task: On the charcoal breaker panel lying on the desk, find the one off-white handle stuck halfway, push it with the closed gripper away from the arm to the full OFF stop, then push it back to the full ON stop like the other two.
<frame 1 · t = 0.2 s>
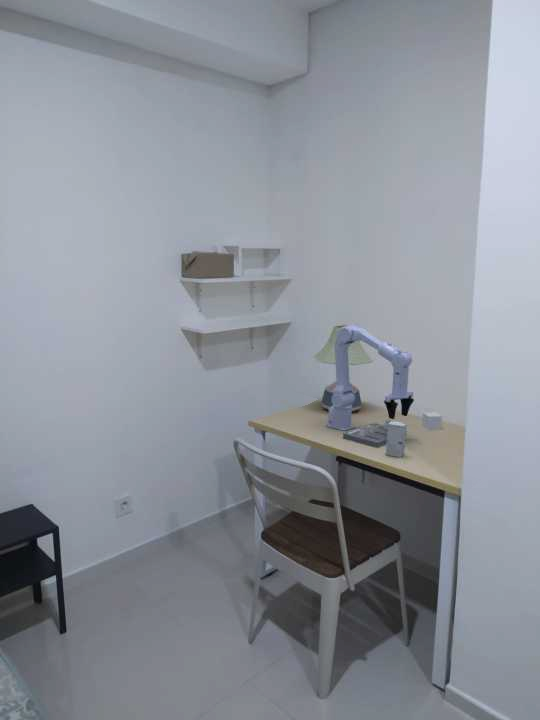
hand: (398, 417, 218), 10 cm above the table, tool pointing down, fingers open, 7 cm apart
desk lamp: (341, 409, 266), on the table
tripped breaker handle: (388, 424, 228), point 4 cm above the table, slide at 3.0 cm
grey cube: (431, 428, 239), on the table
skincare box: (395, 455, 204), on the table
breaker panel: (375, 436, 225), on the table
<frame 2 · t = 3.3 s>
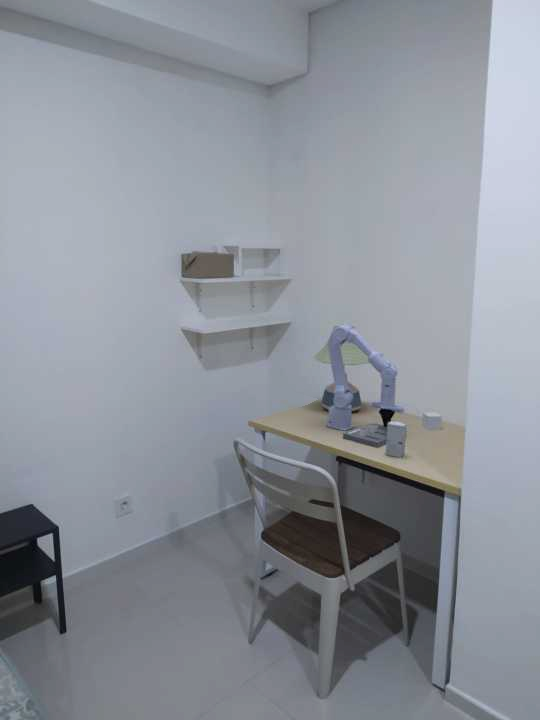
hand: (386, 426, 229), 3 cm above the table, tool pointing down, fingers closed
tripped breaker handle: (391, 425, 227), point 4 cm above the table, slide at 4.1 cm, touching gripper
everything else where it was.
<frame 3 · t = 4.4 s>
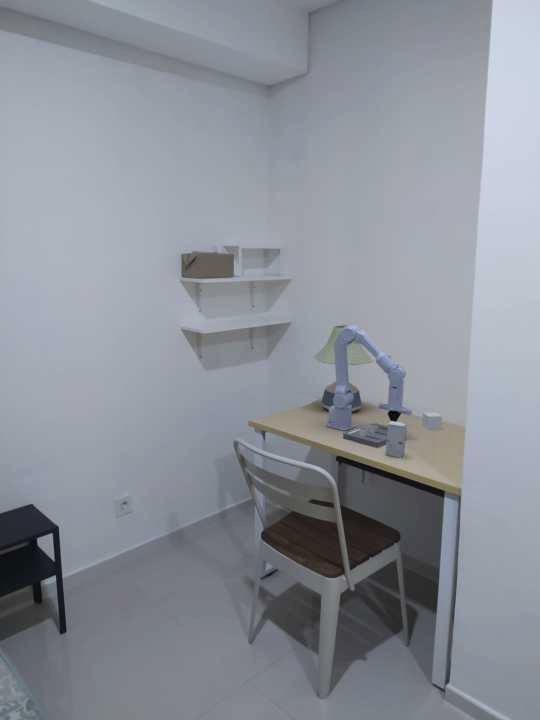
hand: (393, 428, 227), 3 cm above the table, tool pointing down, fingers closed, pressing on tripped breaker handle
tripped breaker handle: (397, 426, 225), point 4 cm above the table, slide at 6.8 cm, touching gripper
everything else where it was.
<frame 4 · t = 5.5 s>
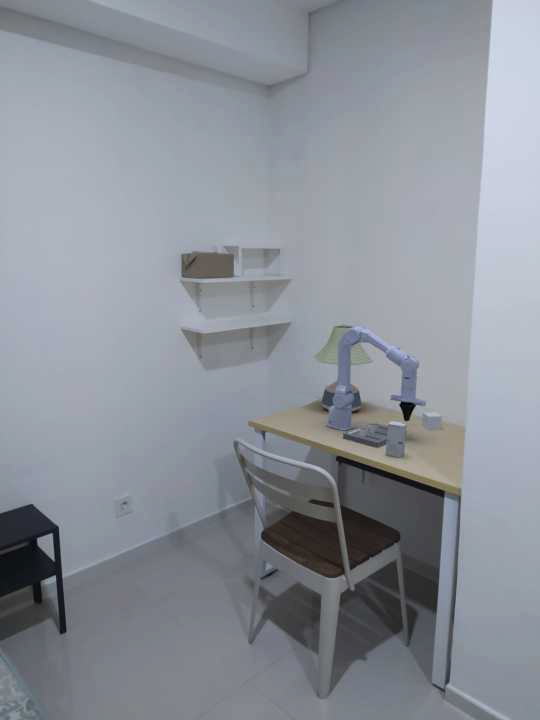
hand: (406, 420, 222), 8 cm above the table, tool pointing down, fingers closed
tripped breaker handle: (395, 426, 226), point 4 cm above the table, slide at 6.1 cm
everything else where it was.
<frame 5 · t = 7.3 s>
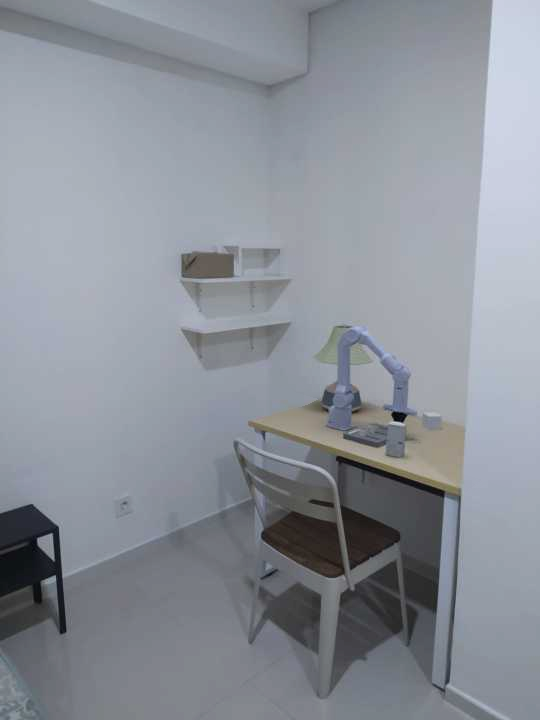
hand: (398, 430, 225), 3 cm above the table, tool pointing down, fingers closed
tripped breaker handle: (393, 425, 226), point 4 cm above the table, slide at 5.1 cm, touching gripper
everything else where it was.
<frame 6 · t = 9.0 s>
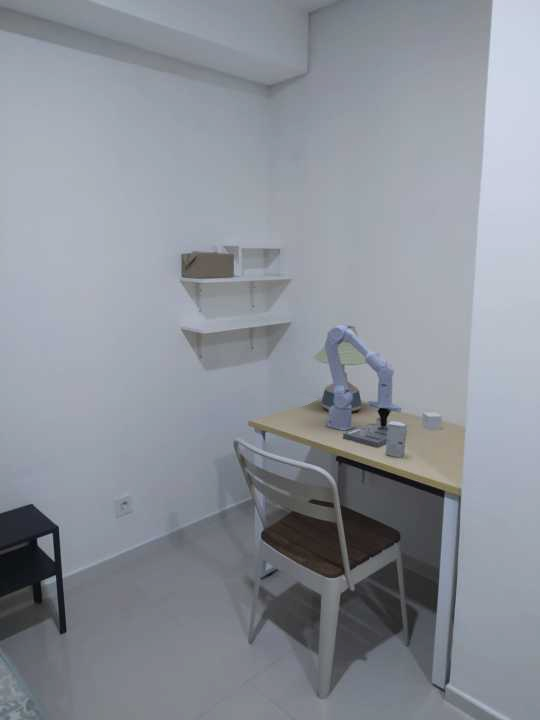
hand: (383, 425, 230), 3 cm above the table, tool pointing down, fingers closed, pressing on tripped breaker handle
tripped breaker handle: (380, 422, 231), point 4 cm above the table, slide at -1.1 cm, touching gripper
everything else where it was.
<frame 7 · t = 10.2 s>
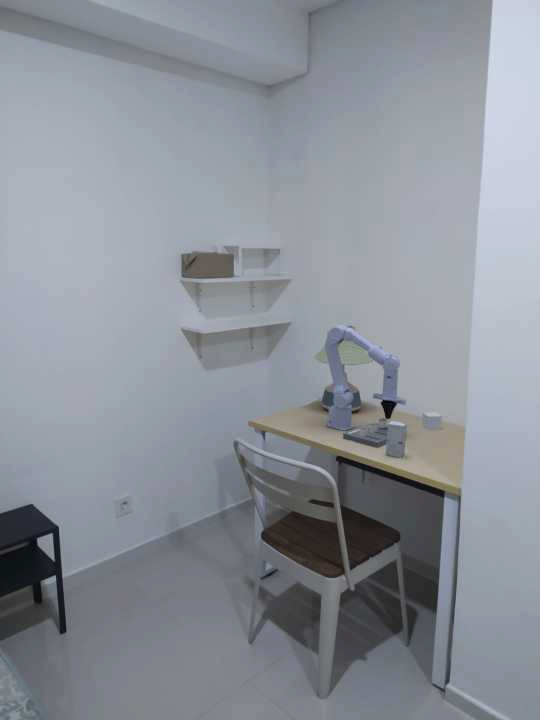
hand: (388, 418, 228), 7 cm above the table, tool pointing down, fingers closed
tripped breaker handle: (382, 423, 230), point 4 cm above the table, slide at -0.1 cm
everything else where it was.
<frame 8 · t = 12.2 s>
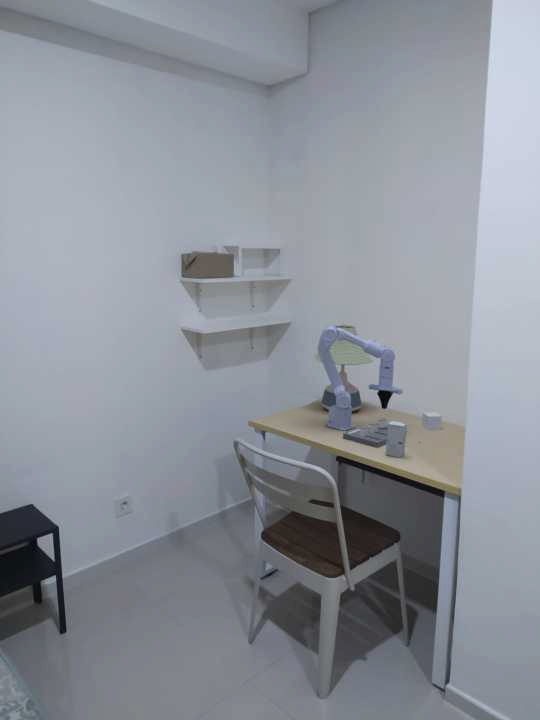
hand: (384, 408, 233), 9 cm above the table, tool pointing down, fingers closed
nothing on the table moved.
at the end: tripped breaker handle slide at -0.1 cm; skincare box moved 0.2 cm from its start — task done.
